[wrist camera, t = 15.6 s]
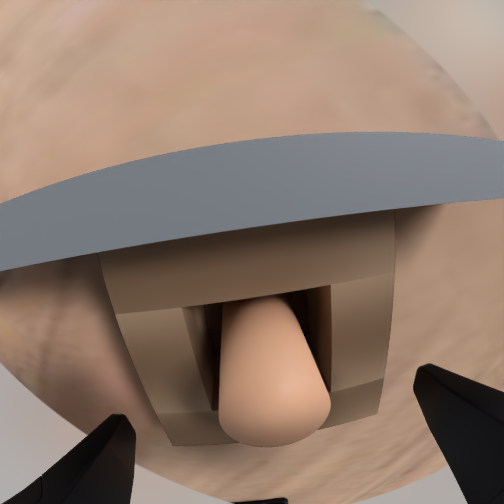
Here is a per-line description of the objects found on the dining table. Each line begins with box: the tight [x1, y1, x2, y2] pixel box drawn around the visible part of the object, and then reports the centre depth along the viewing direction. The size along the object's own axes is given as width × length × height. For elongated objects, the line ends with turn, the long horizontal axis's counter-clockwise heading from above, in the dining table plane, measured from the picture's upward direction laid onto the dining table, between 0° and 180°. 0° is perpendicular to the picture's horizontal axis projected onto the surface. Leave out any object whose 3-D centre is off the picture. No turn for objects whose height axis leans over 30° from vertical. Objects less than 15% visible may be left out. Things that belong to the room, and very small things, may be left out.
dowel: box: [219, 293, 331, 447], centre depth 11 cm, size 3×3×7 cm
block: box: [97, 209, 395, 446], centre depth 12 cm, size 10×10×4 cm
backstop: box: [0, 132, 504, 271], centre depth 9 cm, size 2×24×6 cm, turn 98°
